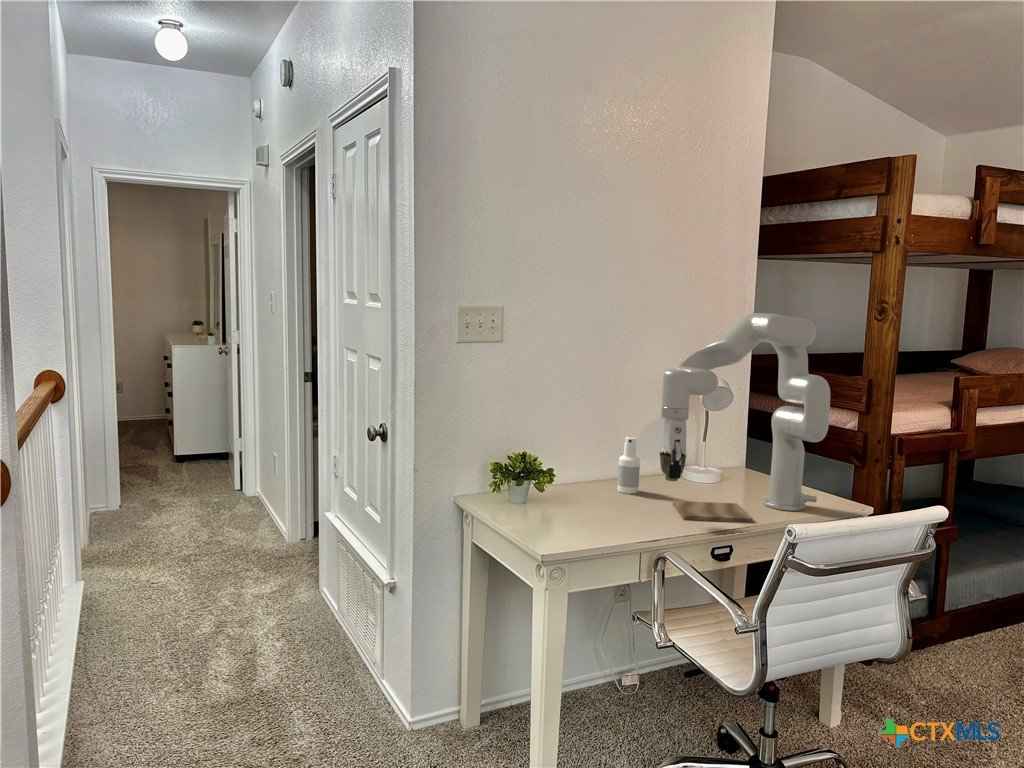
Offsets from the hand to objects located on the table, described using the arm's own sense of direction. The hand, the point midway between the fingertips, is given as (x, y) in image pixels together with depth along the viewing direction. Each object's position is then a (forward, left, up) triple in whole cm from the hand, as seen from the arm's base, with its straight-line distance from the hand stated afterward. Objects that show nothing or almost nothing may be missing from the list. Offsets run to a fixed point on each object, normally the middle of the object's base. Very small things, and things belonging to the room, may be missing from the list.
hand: (671, 474), depth 217 cm
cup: (0, 0, -2) cm, 2 cm away
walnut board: (-15, -10, -14) cm, 22 cm away
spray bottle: (+7, -32, -14) cm, 36 cm away
